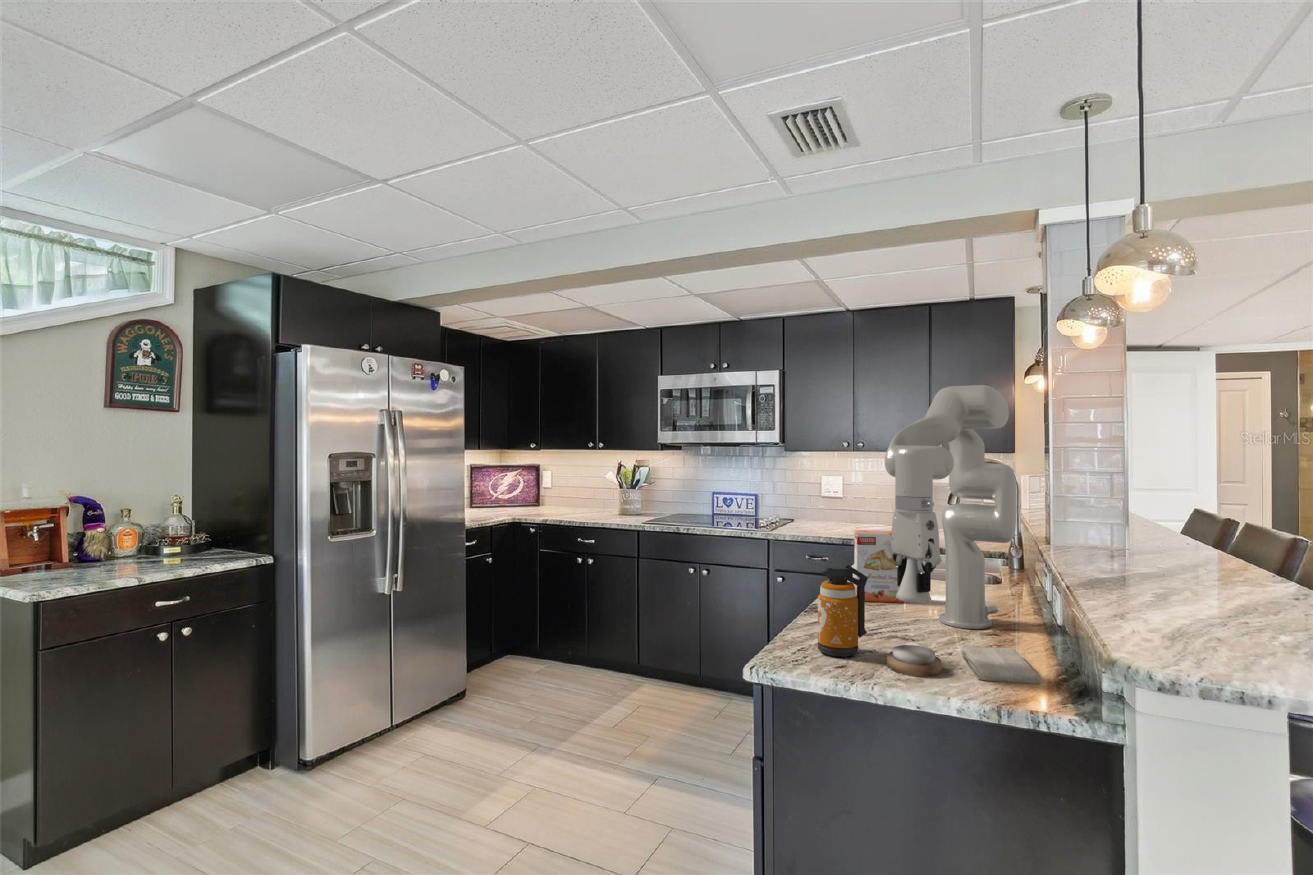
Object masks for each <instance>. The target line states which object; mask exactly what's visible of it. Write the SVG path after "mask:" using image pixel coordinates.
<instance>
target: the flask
mask: <svg viewBox="0 0 1313 875" xmlns="http://www.w3.org/2000/svg"><path fill="white" fill-rule="evenodd" d="M917 573H919V569H918V565H917V560H916V559H914V558H910V557H907V565H906V571H905V574H904V576H903V579H902V582H901V585H900V587H899V590H898V592H897V595H896V598H898V599H900V600H902V601H904V602H911V603H930V602H931V600H932V596H931V594H930V592H922V593H919V592H917Z"/></svg>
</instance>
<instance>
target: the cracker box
mask: <svg viewBox="0 0 1313 875" xmlns="http://www.w3.org/2000/svg"><path fill="white" fill-rule="evenodd" d="M891 534H892V530H877V529H874V530H873V529H872V530H870V529H855V530H854V560H853V561H854V564H853V566H854V567H853V568H854V569H856V570H857V571H859V572H860V573H862V574H864V575H865V576H866V577H868V579H867V582H866V585H865V602H873V603H874V602H878V603H879V602H881V603H897V604H898V603H900V604H904V603H905V601H902V600H900V599H898V598H896V595H897V592H898V590H899V586H898V585H897V567H896V566H895V561H894V559H893V557H892V555H891V554H890V552H889V551H888V548H889V546H890V545H891ZM853 577H854V578H856V579H858V580H859V579H860V578H859V577H858V576H856V575H855V574H853ZM854 586H855V588H856V597H857V585H855V584H854Z"/></svg>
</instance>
